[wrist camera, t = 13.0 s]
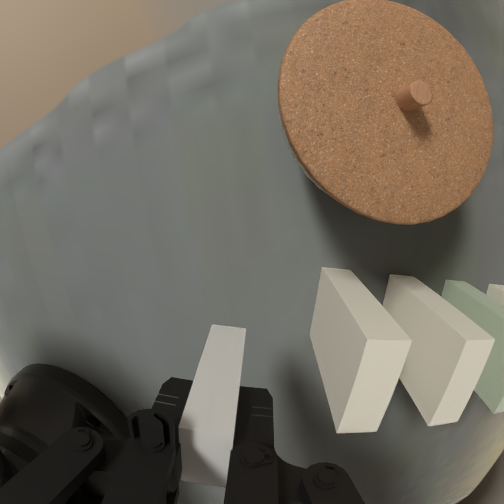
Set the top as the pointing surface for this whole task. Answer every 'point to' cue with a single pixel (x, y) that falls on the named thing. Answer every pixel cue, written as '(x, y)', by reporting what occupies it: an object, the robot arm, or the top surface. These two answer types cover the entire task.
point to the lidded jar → (385, 111)
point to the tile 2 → (436, 349)
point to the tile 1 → (355, 351)
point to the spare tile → (495, 324)
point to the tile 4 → (496, 293)
